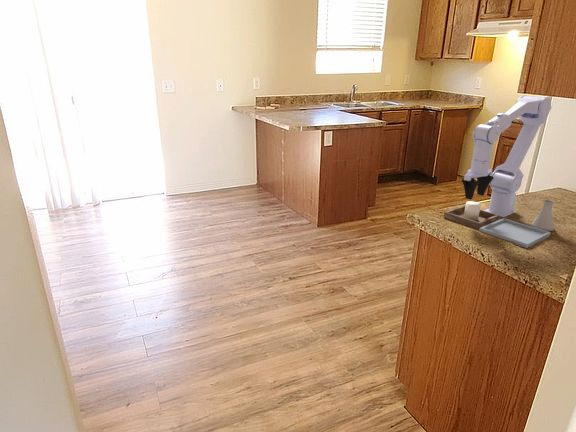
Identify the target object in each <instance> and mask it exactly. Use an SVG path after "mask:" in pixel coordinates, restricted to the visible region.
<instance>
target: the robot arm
mask: <svg viewBox="0 0 576 432" xmlns="http://www.w3.org/2000/svg"><path fill="white" fill-rule="evenodd" d="M551 110H552V101H551V98H550V97H548V96H545V97H544V96H543V97H542V96H533V95H524V94H523V95H520V97H518V98H517V99H516V102H515V104H514V105H513V106H512V107H510V109H508V110H507V111H506V112H505V113H503V112H498V113H497V114H496V116H494V117H492V118H491V119H490V120H488V121H487V122H486V123H481V124H479V125H477V126H476V127H475V128H474V130H473V132H472V139H473V143H472V144H473V145H474V146H473V147H474V148H473V152H472V159H471V165H470V169H467V170H466V171H467V172H466V174H464V177H462V178H461V183H462V185H463V189H464V196H465V199H467V200H469V201H470V200H471V201H472V200H473V198H474V195H475V191H476V195H479V196H482V197H483V196H484V195H485V193H486V191H487V189H488V187H489V186H490V189H491V190H492V191H491V196H490V199H489V200H490V201H489V205H488V208H486V209H484V211H487V212H490V213H494V214H497V215H499V217H502V218H505V217H507V216H510V215H512V214H514V213H515V214H516V212H517V211H516V210H514V209H515V205H516V201H517V193H516V192H518V190H519V189H520V188H521V185H522V182H523V178H524V174H523V172H522V171H521V169H520V167H521V165H522V163H523V161H524V160H525V157H526V155H527V153H528V152H529V149H530V147H531V145H532V144H533V141H534V139H535V138H536V135H537V134H538V131H539V129H540V127H541V125H543V124H544V123H545V122H546V120H547V118H548V116H549V114H550V112H551ZM518 118H519V120H520V121H521V122H522V123H523V125H522V128H521V129H520V132H519V134H518V135H517V137H516V140H515V141H514V144H513V146H512V148H511V150H510V152H509V154H508V155H507V158H506V160H505V162H504V163H503V164H499V165H498V166H496V167H495V169H494V171H493V169H490V164H491V159H492V154H493V153H492V152H493V147H494V143H496V142H497V141H498V139H499V137H500V136H501V134H502V133H503V132H505V131H506V130H507V129H509V128H510V127H511V125H512V122H513V121H515V120H516V119H518ZM475 179H476V180H475Z"/></svg>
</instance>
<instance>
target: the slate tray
mask: <svg viewBox="0 0 576 432" xmlns="http://www.w3.org/2000/svg"><path fill="white" fill-rule="evenodd" d="M478 230H479V232H480V233H483V234H487V235H490V236H493V237H496V238H498V239H501V240H504V241H507V242H510V243H512V244H513V245H516V246H519V247H522V248H524V247H525V248H524V249H529V248H531V247H533V246H534V245H537V244H538V243H541V241H544V240H546V239H548V238H550V237H551V232H552V231H545V230H541V229H538V228H535V227H532V225H529V224H525V223H520V222H518V221H514V220H511V219H507V218H505V217H502V218H501V219H499V220H498V221H495V222H493V223H491V224H488V225H486V226H483V227H481V228H479V229H478ZM528 247H529V248H528Z"/></svg>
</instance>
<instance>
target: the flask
mask: <svg viewBox="0 0 576 432" xmlns="http://www.w3.org/2000/svg"><path fill="white" fill-rule="evenodd" d="M554 204H555V201H554V200H551V199H544V200H543V206H542V208H541V210H540V211H539V213H538V214H537V215H536V217H535V218H534V220H533V221H532V223H531V226H532V227H535V228H538V229H541V230H545V231H548V232H554V231H555V228H554V220H553V213H552V212H553V205H554Z"/></svg>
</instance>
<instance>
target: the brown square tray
mask: <svg viewBox="0 0 576 432" xmlns="http://www.w3.org/2000/svg"><path fill="white" fill-rule="evenodd" d="M465 205H466V204H464V205H461V206H458V207H455V208H453V209H449V210H447V211H444V212H443V218H444V219H446V220H450V221H453V222H455V223H459V224H461V225H464V226H467V227H471V228H473V229H477V230H479V229H480V228H481V227H483V226H486V225H488V224H491V223H493V222H495V221H498V220H500V219H499V218H500V216H499V215H497V214H494V213H490V212H487V211H484V210H485V209H484V210H483V209H480V212H479V217H478V221H473V220H470V219H467V218H464V211H465Z"/></svg>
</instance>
